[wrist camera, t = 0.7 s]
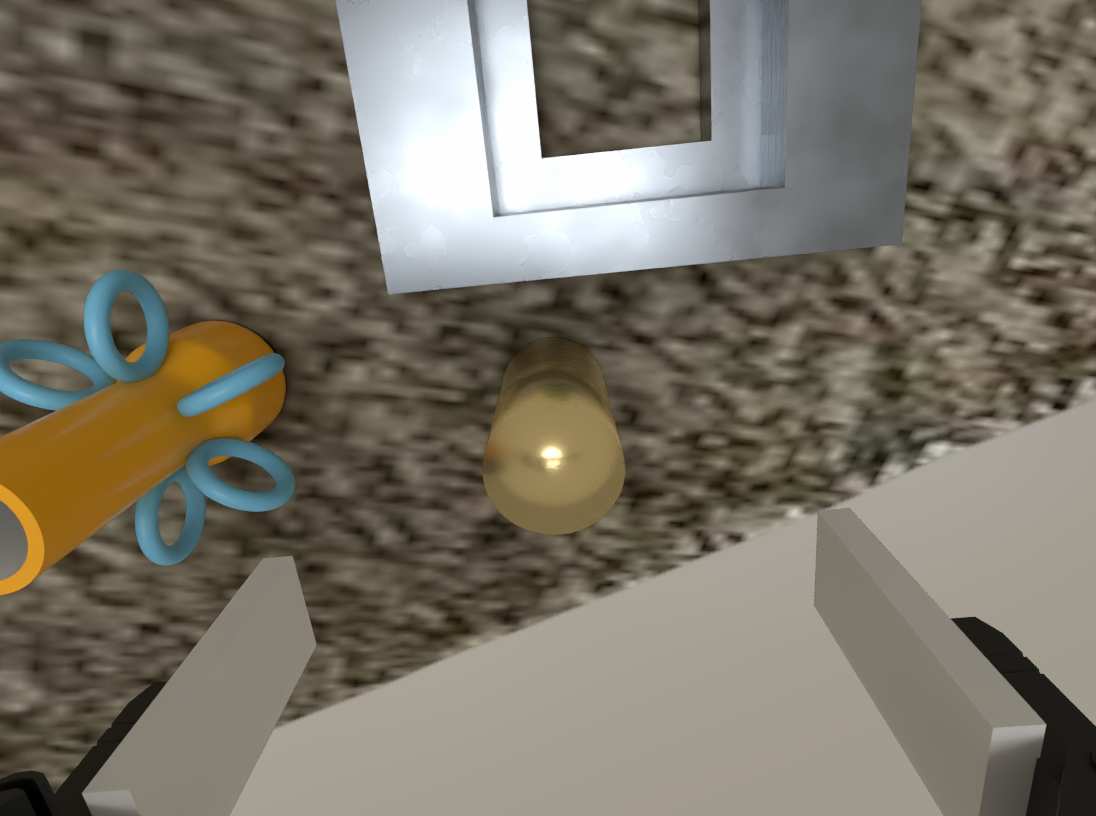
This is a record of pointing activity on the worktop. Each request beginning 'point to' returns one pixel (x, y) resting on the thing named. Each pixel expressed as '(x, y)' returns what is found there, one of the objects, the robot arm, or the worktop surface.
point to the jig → (635, 174)
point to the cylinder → (134, 433)
